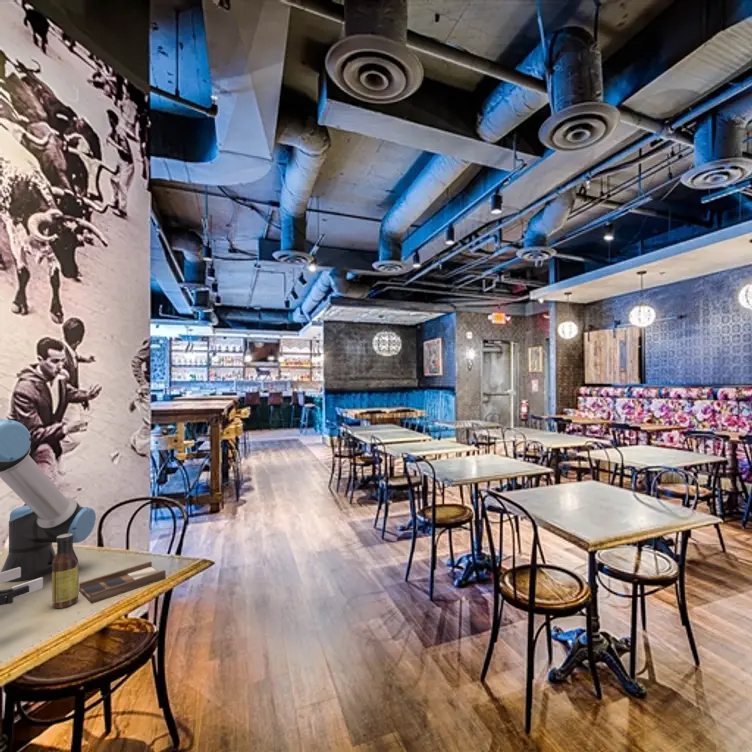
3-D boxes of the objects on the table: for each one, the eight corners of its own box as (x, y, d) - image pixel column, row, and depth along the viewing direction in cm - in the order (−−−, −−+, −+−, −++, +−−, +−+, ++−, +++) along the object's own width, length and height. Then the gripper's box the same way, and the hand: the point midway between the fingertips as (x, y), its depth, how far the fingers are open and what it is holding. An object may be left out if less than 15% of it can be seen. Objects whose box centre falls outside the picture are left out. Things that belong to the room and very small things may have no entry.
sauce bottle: (83, 600, 123) (85, 532, 124) (62, 610, 117) (64, 540, 118) (67, 597, 125) (68, 530, 126) (45, 607, 119) (47, 538, 120)
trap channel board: (79, 591, 129) (79, 583, 129) (150, 568, 145) (150, 561, 145) (91, 603, 121) (91, 595, 121) (165, 578, 137) (165, 570, 137)
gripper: (-98, 615, 102) (11, 581, 120) (-64, 645, 90) (52, 602, 108) (-96, 584, 102) (12, 554, 121) (-63, 610, 90) (52, 572, 108)
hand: (31, 577), depth 114 cm, fingers open, 13 cm apart
